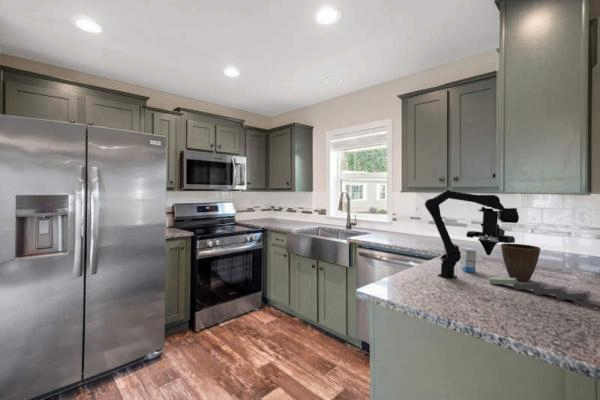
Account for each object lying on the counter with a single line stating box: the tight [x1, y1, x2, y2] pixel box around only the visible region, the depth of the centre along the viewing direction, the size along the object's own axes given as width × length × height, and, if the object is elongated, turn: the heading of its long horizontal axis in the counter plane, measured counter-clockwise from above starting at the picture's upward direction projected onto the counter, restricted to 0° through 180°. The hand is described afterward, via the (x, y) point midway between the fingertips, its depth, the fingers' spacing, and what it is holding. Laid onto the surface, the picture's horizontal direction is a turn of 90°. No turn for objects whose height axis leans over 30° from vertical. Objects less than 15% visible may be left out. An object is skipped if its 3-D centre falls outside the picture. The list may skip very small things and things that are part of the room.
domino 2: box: [532, 285, 567, 295], centre depth 113 cm, size 5×2×9 cm
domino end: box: [573, 298, 600, 310], centre depth 103 cm, size 5×2×9 cm
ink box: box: [459, 246, 477, 274], centre depth 149 cm, size 9×5×12 cm, turn 168°
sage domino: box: [488, 277, 518, 286], centre depth 125 cm, size 2×5×9 cm
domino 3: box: [554, 290, 592, 301], centre depth 107 cm, size 5×2×9 cm
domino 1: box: [513, 281, 545, 291], centre depth 118 cm, size 5×2×9 cm
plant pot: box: [500, 243, 542, 282], centre depth 135 cm, size 15×15×16 cm
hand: (488, 255), depth 132 cm, fingers closed
